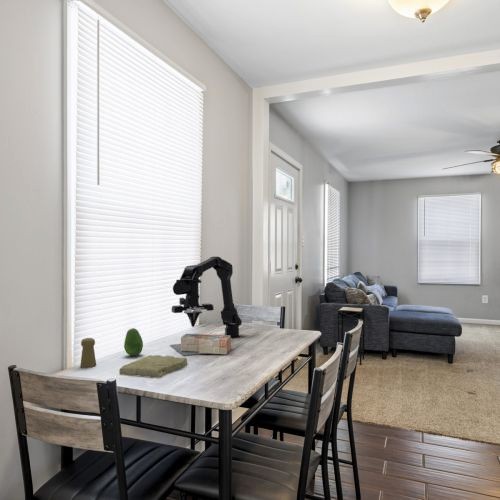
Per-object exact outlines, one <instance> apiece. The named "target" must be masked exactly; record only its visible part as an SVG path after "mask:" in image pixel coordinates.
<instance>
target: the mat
mask: <svg viewBox="0 0 500 500" xmlns="http://www.w3.org/2000/svg"><path fill="white" fill-rule="evenodd" d="M169 347H170V348H172V349H174V351H176V352H177V353H179V354H180V355H181V356H182V357H189V356H199V355H207V354H208V353H199V352H193V351H181V343H175V344H170V345H169Z"/></svg>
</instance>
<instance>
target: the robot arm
mask: <svg viewBox="0 0 500 500" xmlns="http://www.w3.org/2000/svg"><path fill="white" fill-rule="evenodd" d="M211 268H212V269H214V270H215V272H216V275H217V277H218V279H219V280H220V283H221V284H220V285H221V292H222V300H223V308H222V310H221V311H220V317H221V318H220V319H221V320H222V321H221V322H222V324H223V326H225V327H224V335H230V336H231V339H232V338H234V339H235V338H240V337H241V335H240V326H241V325H242V323H243V322H242V319H241V317H240V316H239V314H238V309H237V308H236V307H235V306H234V299H233V291H232V282H231V278H232V276H233V265H232V263H231V262H228V261H227V260H225V259H224V258H223V259H222V257H220V256H211V257H209V258H207V259H206V260H204V261H201V262H200V263H197V264H192V265H191V264H190V265H187V266H185V267H184V269H183V271H182V274H181V276H180V278H179V279H176V280H175V283H174V284H173V286H172V292H173V293H174V295H176V296H180V295H185V297H179V299H178V300H179V301H178V303H179V305H172V306H171V312H172V313H174V314H181V313H184V314H186V315H187V318H188V320H189V323H190V325H191V328H194V327H195V326H196V324H197V320H198V319H199V316H200V314H202V313H203V312H202V310H206V311H210V312H211V311H214V304H212V303H209V302H208V303H202V304H201V305H200V300H199V299H200V293H199V290H200V286H199V284H201V283H202V280H201V279H200V278H201V277H202V276H203V275H204V273H205V272H206V271H208V270H210V269H211Z"/></svg>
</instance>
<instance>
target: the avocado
mask: <svg viewBox="0 0 500 500" xmlns="http://www.w3.org/2000/svg"><path fill="white" fill-rule="evenodd" d="M123 347H124V351H125V352H126V354H128V355H129V356H133V357H134V356H135V357H136V356H139V355H140V354H141V353H142V352H143V347H144V342H143V338H142V336H141V334H140V332H139V330H137V329H136V328H134V327H133V328H130V329H128V330H127V332H126V333H125V338H124V345H123Z"/></svg>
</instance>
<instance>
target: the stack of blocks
mask: <svg viewBox="0 0 500 500" xmlns="http://www.w3.org/2000/svg"><path fill="white" fill-rule="evenodd" d="M231 339H232V338H231V336H230V335H225V334H199V333H185V334H183V335H182V336H181V337H180V344H181V351H193V352H199V353H207V354H213V355H227V354H228V353H229V352H230V350H231V348H232V347H231V346H232V345H231V344H232V343H231V341H232V340H231Z"/></svg>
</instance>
